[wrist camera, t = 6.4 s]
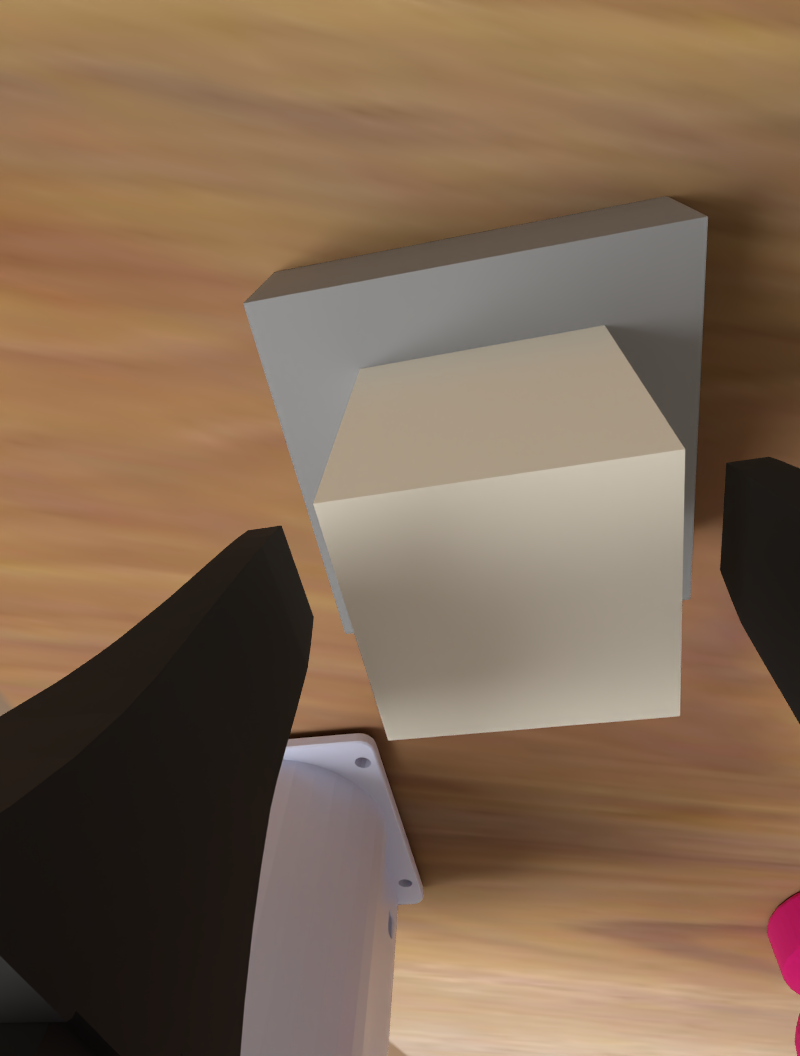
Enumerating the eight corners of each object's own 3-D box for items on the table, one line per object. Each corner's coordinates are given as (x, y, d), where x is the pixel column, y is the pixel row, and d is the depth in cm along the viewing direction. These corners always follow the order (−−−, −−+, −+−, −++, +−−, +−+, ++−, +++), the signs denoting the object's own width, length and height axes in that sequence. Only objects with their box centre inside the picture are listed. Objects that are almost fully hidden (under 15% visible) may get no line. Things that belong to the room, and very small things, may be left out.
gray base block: (656, 526, 18) (690, 598, 15) (360, 561, 19) (345, 633, 16) (660, 192, 13) (708, 215, 11) (279, 267, 15) (242, 303, 12)
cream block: (613, 533, 14) (680, 715, 10) (406, 560, 15) (388, 741, 11) (604, 325, 12) (685, 449, 8) (359, 368, 13) (313, 503, 9)
